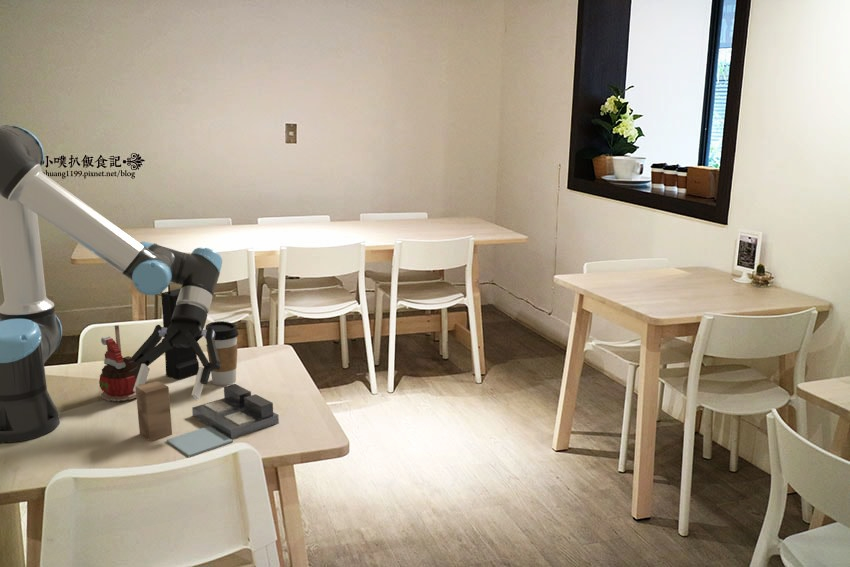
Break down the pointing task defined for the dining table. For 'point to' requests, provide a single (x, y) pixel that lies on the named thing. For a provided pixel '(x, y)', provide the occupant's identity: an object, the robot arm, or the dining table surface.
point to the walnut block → (153, 410)
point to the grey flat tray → (237, 412)
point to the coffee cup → (225, 352)
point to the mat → (199, 441)
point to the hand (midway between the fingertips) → (165, 395)
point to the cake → (117, 371)
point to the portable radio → (177, 359)
